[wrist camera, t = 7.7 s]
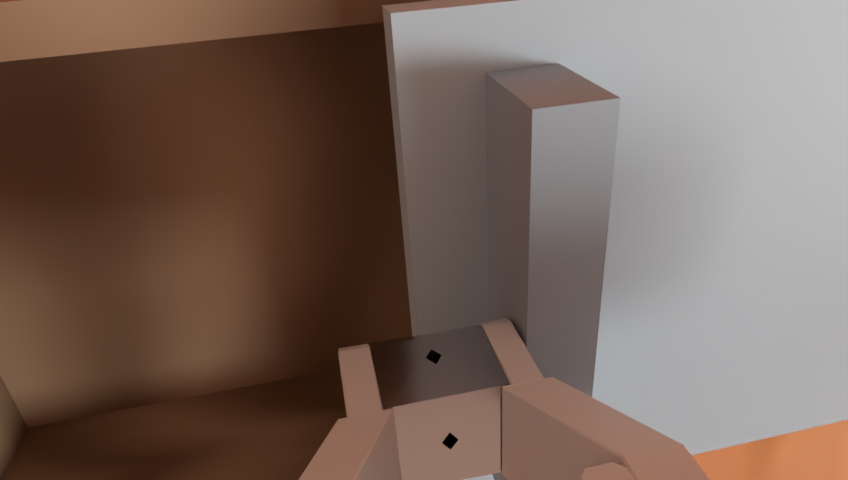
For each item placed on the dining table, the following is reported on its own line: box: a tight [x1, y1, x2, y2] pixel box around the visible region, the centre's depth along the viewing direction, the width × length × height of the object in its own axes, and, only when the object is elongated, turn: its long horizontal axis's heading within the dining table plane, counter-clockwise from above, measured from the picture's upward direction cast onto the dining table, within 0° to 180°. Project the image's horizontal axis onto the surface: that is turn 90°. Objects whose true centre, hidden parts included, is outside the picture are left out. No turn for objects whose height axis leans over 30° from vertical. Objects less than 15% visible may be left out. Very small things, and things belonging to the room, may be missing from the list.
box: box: [0, 0, 432, 480], centre depth 14 cm, size 20×12×5 cm, turn 94°
